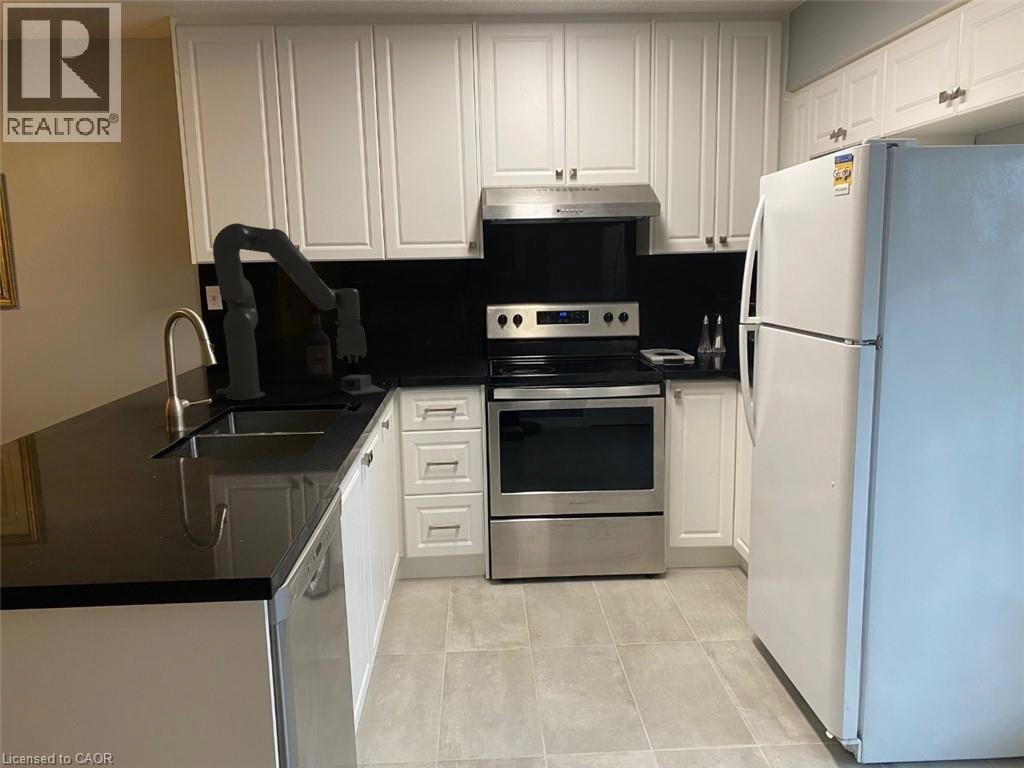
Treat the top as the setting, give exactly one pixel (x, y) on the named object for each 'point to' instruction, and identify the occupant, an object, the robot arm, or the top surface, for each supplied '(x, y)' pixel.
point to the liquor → (318, 351)
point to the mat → (365, 390)
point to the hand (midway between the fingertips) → (352, 373)
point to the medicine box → (356, 382)
